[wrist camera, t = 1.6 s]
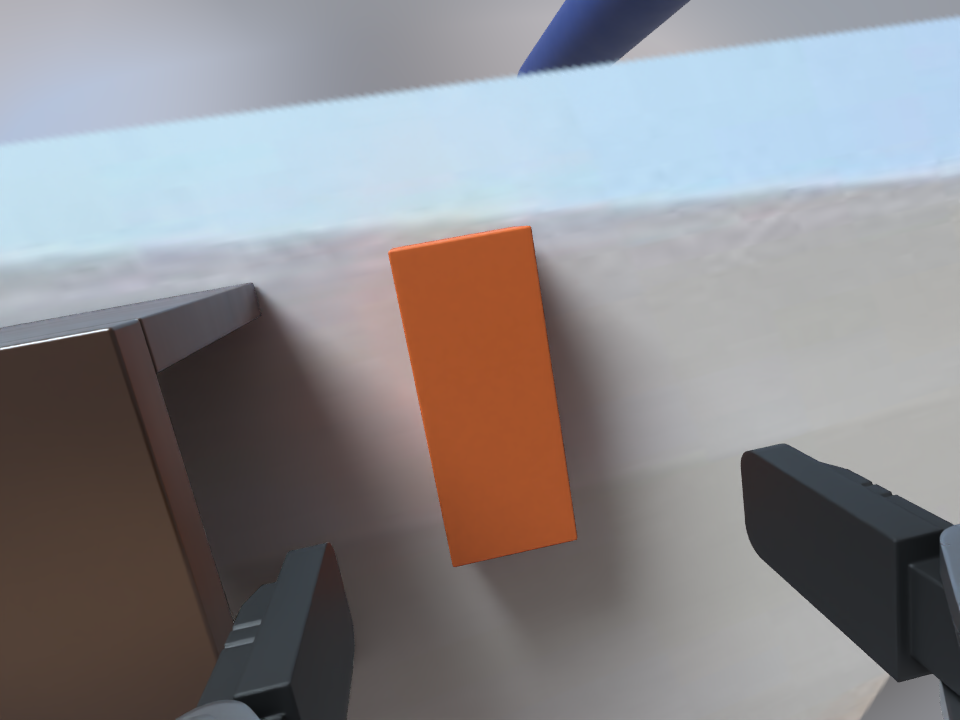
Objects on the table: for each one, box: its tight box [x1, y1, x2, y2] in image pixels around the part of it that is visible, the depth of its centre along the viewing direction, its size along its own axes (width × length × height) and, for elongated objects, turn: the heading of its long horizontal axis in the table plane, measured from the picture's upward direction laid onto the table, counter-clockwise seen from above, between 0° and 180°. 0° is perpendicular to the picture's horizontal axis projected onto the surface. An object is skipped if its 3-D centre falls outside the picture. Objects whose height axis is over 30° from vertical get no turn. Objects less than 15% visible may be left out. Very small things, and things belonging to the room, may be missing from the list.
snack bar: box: [388, 226, 577, 567], centre depth 21 cm, size 11×4×3 cm, turn 10°
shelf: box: [0, 283, 353, 720], centre depth 16 cm, size 16×12×12 cm
